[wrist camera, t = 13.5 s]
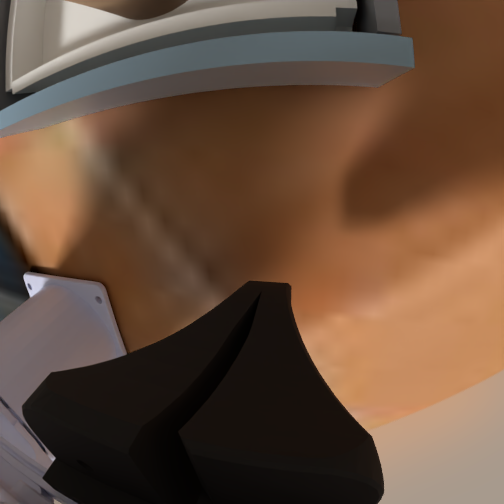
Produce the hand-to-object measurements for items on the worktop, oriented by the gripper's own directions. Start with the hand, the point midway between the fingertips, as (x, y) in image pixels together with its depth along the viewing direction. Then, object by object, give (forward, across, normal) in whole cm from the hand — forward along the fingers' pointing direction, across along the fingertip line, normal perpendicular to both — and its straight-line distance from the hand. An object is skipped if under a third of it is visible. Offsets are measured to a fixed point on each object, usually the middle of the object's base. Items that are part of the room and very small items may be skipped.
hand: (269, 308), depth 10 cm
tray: (+3, +4, -13) cm, 14 cm away
